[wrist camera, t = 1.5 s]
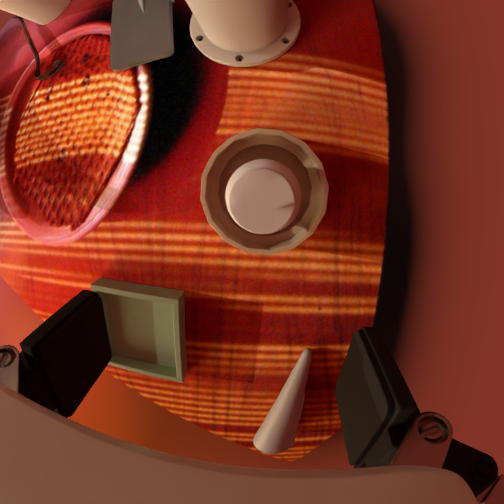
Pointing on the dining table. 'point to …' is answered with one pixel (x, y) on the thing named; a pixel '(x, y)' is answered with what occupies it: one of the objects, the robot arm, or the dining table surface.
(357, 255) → the dining table surface
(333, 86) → the dining table surface
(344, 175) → the dining table surface
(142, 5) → the figurine
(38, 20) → the cup
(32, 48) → the crowbar
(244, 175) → the pill bottle
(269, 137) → the bowl
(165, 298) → the tray
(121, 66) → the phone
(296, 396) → the long tapered cone
